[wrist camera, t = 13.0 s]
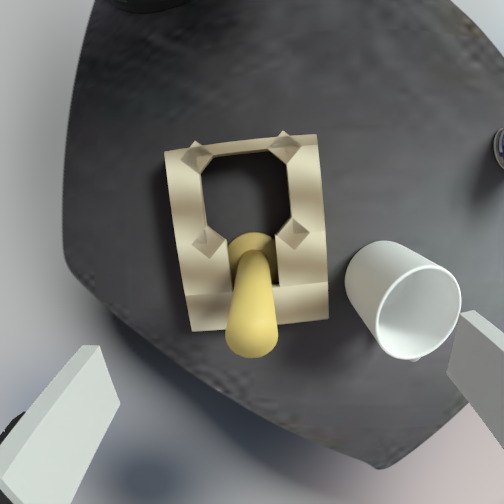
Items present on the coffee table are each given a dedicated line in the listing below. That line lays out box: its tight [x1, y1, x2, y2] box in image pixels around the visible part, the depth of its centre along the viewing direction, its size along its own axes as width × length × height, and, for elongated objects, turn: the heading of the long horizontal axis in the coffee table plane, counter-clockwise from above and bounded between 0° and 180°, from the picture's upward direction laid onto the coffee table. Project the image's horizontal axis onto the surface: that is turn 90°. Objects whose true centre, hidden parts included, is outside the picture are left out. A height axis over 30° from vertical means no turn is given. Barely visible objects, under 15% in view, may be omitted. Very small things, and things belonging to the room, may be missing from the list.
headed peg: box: [225, 232, 279, 358], centre depth 26 cm, size 6×6×16 cm
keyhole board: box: [164, 131, 329, 332], centre depth 31 cm, size 19×14×3 cm
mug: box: [345, 241, 461, 362], centre depth 29 cm, size 9×12×11 cm
